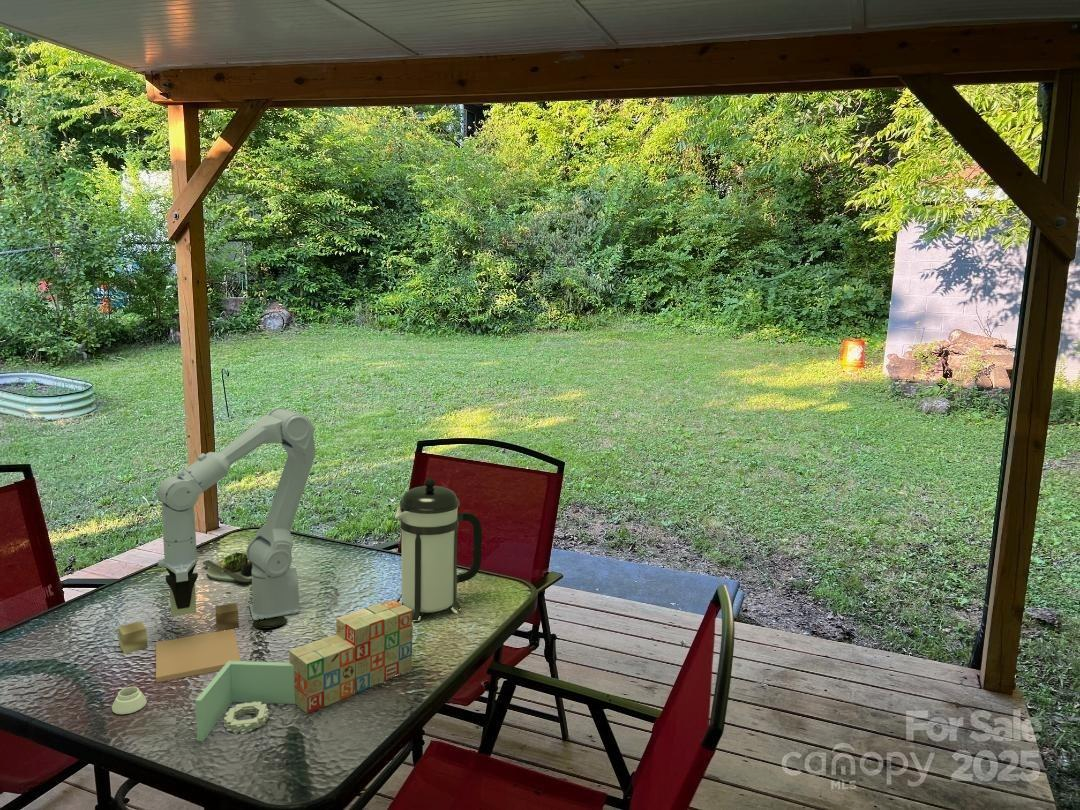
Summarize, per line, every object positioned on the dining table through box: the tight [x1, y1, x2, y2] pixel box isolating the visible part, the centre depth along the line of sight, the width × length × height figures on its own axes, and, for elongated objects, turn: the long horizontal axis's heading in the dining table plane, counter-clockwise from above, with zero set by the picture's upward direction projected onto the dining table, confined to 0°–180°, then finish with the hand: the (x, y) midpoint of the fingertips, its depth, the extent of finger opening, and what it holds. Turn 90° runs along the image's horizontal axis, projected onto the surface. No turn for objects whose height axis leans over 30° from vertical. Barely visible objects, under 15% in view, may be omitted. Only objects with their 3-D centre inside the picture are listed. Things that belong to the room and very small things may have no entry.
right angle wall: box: [194, 660, 297, 743], centre depth 119 cm, size 12×12×8 cm
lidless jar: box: [111, 686, 147, 715], centre depth 122 cm, size 5×3×5 cm
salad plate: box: [202, 551, 252, 584], centre depth 179 cm, size 19×18×5 cm
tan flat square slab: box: [155, 629, 242, 683], centre depth 139 cm, size 14×14×1 cm
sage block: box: [168, 583, 197, 618], centre depth 145 cm, size 4×4×6 cm
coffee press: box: [394, 477, 483, 620], centre depth 161 cm, size 17×16×30 cm
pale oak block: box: [117, 621, 148, 655], centre depth 141 cm, size 4×4×4 cm
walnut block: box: [215, 602, 240, 632], centre depth 151 cm, size 4×4×4 cm
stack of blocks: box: [288, 599, 414, 714], centre depth 130 cm, size 21×6×12 cm, turn 135°
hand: (183, 602), depth 145 cm, fingers closed on sage block, 4 cm apart
